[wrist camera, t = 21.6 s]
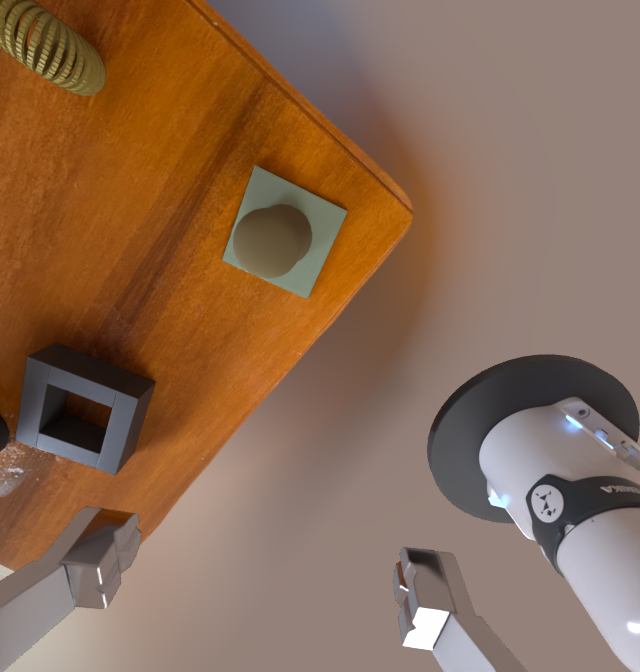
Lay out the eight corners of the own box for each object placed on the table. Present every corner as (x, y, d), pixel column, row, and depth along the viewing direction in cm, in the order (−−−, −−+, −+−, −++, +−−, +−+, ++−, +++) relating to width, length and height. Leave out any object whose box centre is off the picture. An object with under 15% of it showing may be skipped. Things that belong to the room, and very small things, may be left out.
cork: (299, 194, 32) (286, 187, 22) (320, 253, 34) (317, 272, 24) (244, 216, 33) (206, 219, 23) (267, 273, 35) (242, 299, 25)
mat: (347, 211, 33) (347, 211, 33) (307, 298, 36) (307, 299, 36) (255, 165, 32) (254, 164, 31) (222, 259, 35) (221, 260, 35)
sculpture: (31, 55, 29) (-71, 2, 22) (46, 8, 28) (-57, -66, 20) (115, 117, 31) (45, 87, 23) (132, 74, 29) (65, 28, 22)
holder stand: (156, 381, 41) (138, 398, 37) (133, 453, 45) (115, 475, 41) (55, 342, 39) (26, 356, 35) (41, 420, 43) (14, 440, 40)
